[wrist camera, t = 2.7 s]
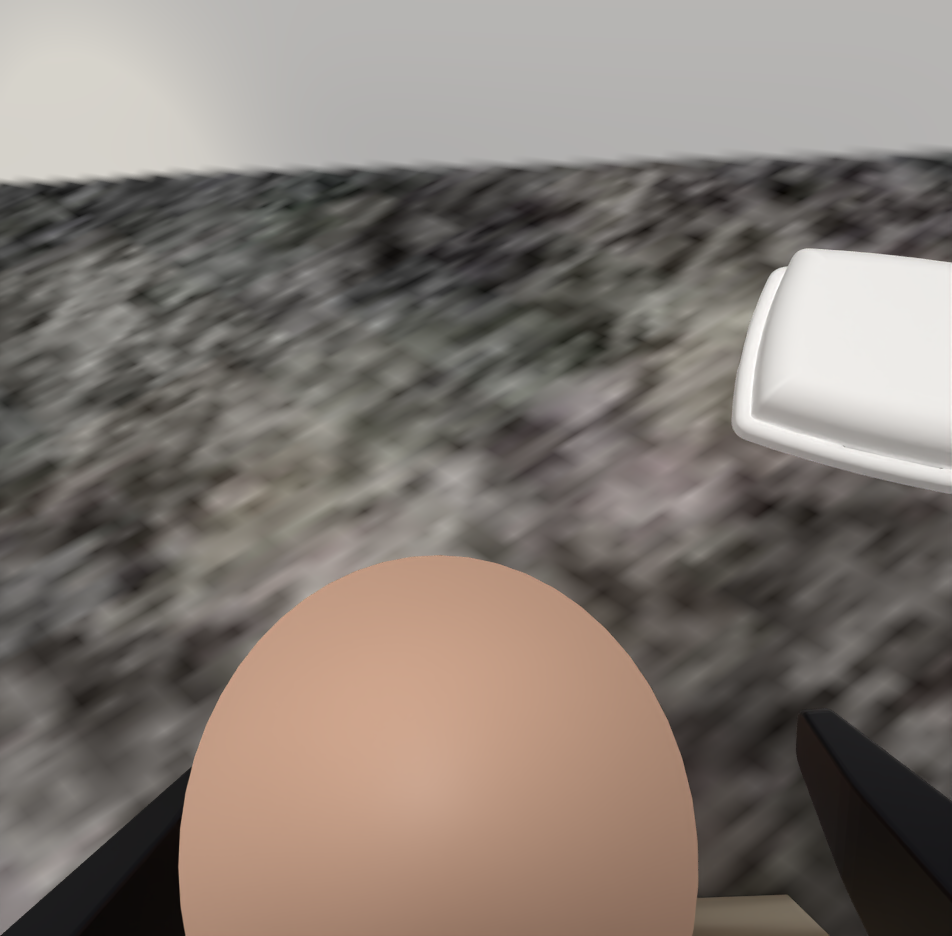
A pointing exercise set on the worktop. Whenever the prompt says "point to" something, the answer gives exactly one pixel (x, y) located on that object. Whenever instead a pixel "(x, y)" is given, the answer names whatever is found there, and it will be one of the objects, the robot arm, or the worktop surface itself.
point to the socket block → (753, 917)
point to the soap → (853, 366)
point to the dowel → (438, 771)
